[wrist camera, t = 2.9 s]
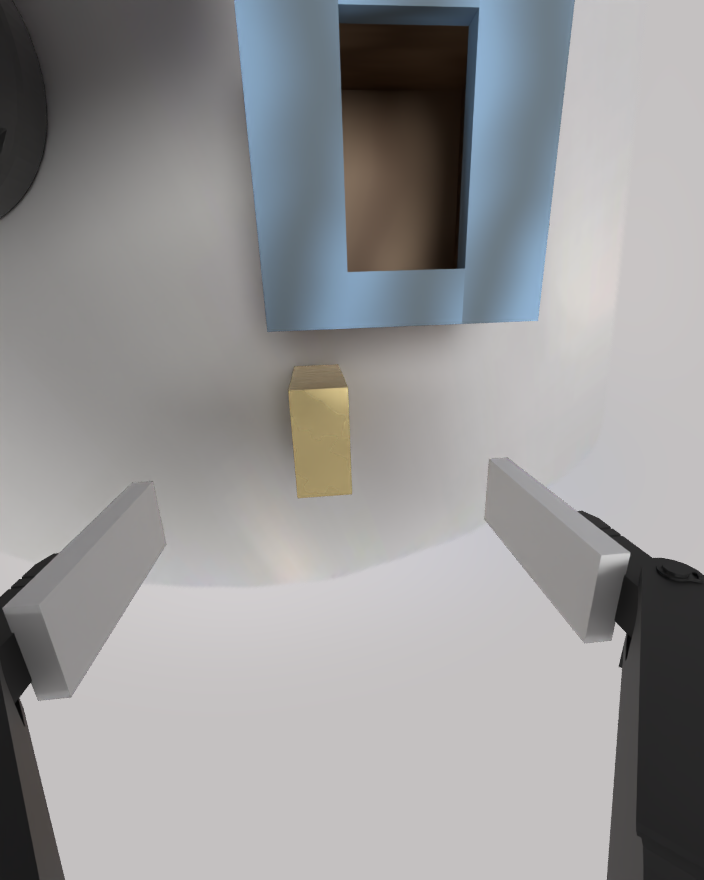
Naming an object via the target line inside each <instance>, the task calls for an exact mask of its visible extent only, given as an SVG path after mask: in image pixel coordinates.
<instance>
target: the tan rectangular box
mask: <svg viewBox="0 0 704 880" xmlns="http://www.w3.org/2000/svg"><path fill="white" fill-rule="evenodd" d="M288 394H289V405H290V417H291V428H292V440H293V451H294V462H295V474H296V485H297V497H298V498H308V497H321V496H334V495H348V494H352V481H351V454H350V427H349V401H348V386H347V384H346V382H345V379H344V377H343V375H342V372H341V370H340V368H339V365H338V364H335V365H314V366H295V367H294V370H293V374H292V378H291V382H290V386H289V389H288Z"/></svg>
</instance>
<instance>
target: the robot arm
mask: <svg viewBox="0 0 704 880" xmlns="http://www.w3.org/2000/svg"><path fill="white" fill-rule="evenodd" d="M46 126H47V110H46V97H45V90H44V84H43V79H42V74H41V70H40V66H39V62H38V59H37V56H36V53H35V50H34V46H33V44H32V41H31V39H30V36H29V34H28V31H27V29H26V27H25V25H24V22H23V20H22V18H21V16H20V14H19V12H18V10H17V8H16V6H15V5H14V3H13V1H12V0H0V217H2V216H3V215H5V214H6V213H7V212H8V211H10V210H11V209H12V208H13V207H14V206H15V205H16V204H17V203H18V202H19V201H20V199H21V198H22V197H23V196H24V194H25V193H26V191H27V190H28V188H29V187H30V185H31V183H32V181H33V179H34V177H35V175H36V173H37V170H38V168H39V165H40V161H41V158H42V154H43V150H44V145H45V138H46ZM484 519H485V521H486V522H487V523H488V524H489V526H490V527H491V528H492V529H493V531H494V532H495V533H496V534H497V536H498V537H499V538H500V539H501V540H502V541H503V543H504V544H505V546H506V547H507V548H508V549H509V551H510V552H511V553H512V554H513V555H514V557H515V558H516V559H517V560H518V561H519V563H520V564H521V565H522V567H523V568H524V569H525V570H526V571H527V573H528V574H529V575H530V577H531V578H532V579H533V580H534V582H535V583H536V584H537V585H538V586H539V588H540V589H541V590H542V591H543V593H544V594H545V595H546V596H547V598H548V599H549V600H550V601H551V603H552V604H553V605H554V606H555V608H556V609H557V610H558V611H559V613H560V614H561V615H562V616H563V617H564V619H565V620H566V621H567V622H568V624H569V625H570V626H571V627H572V629H573V630H574V631H575V632H576V634H577V635H578V636H579V637H580V639H581V640H582V641H583V642H584V643H593V642H602V641H611V640H612V635H613V631H614V626H615V622H616V623H617V624H618V625H619V626H620V627H621V628H622V629H623V630H624V631H625V632H626V638H625V642H624V646H623V651H622V655H621V659H620V664H619V667H621V668H622V678H621V692H620V707H619V720H618V733H617V747H616V762H615V776H614V789H613V803H612V817H611V830H610V845H609V858H608V859H609V860H608V872H607V880H704V575H702V573H700V572H699V571H698V570H696V569H694V568H692V567H690V566H688V565H686V564H684V563H681V562H677V561H675V560H670V559H665V558H652V557H650V556H649V555H648V554H646V553H645V552H643V551H642V550H641V549H640V548H638V547H637V546H636V545H634V544H633V543H631V542H630V541H629V540H627V539H626V538H625V537H623V536H621V535H620V534H619V533H618V532H616V531H615V530H614V529H611V527H610V526H608V525H607V524H606V523H604V522H603V521H602V520H600V519H599V518H597V517H595V516H593V515H590V514H588V513H586V512H583V511H576V510H574V509H573V508H572V507H571V506H569V505H568V504H567V503H565V502H564V501H563V500H562V499H560V498H559V497H558V496H556V495H555V494H554V493H553V492H551V491H550V490H549V489H547V488H546V487H545V486H544V485H542V484H541V483H540V482H538V481H537V480H536V479H535V478H533V477H532V476H531V475H529V474H528V473H527V472H525V471H524V470H523V469H522V468H520V467H519V466H518V465H516V464H515V463H514V462H513V461H511V460H510V459H509V458H492V459H489V466H488V478H487V491H486V503H485V516H484ZM165 546H166V540H165V535H164V530H163V526H162V521H161V516H160V511H159V507H158V502H157V497H156V493H155V488H154V483H153V481H151V482H136V483H131V484H130V485H129V486H128V487H127V488H126V489H125V490H124V491H123V492H122V493H121V494H120V495H119V496H118V497H117V498H116V499H115V500H114V501H113V502H112V503H111V504H110V505H109V506H108V507H107V508H105V509H104V510H103V511H102V512H101V513H100V514H99V515H98V516H97V517H96V518H95V519H94V520H93V521H92V522H91V523H90V524H89V525H88V526H87V527H86V528H85V529H84V530H83V531H82V532H81V533H80V534H79V535H77V536H76V537H75V538H74V539H73V540H72V541H71V542H70V543H69V544H68V545H67V546H66V547H65V548H64V549H63V550H62V551H61V552H60V553H57V554H52V555H51V556H49V557H47V558H46V559H44V560H42V561H41V562H39V563H37V564H35V565H34V566H33V567H32V568H31V569H30V570H29V571H28V572H27V573H26V574H25V575H23V577H22V579H19V580H18V581H17V582H16V583H15V584H14V585H13V586H12V587H11V589H9V590H7V591H6V592H5V593H4V594H3V595H2V596H1V597H0V880H65V878H64V874H63V870H62V865H61V861H60V857H59V853H58V849H57V845H56V841H55V837H54V832H53V828H52V824H51V820H50V816H49V812H48V808H47V804H46V799H45V795H44V791H43V787H42V783H41V779H40V775H39V770H38V766H37V762H36V758H35V754H34V750H33V746H32V742H31V738H30V733H29V729H28V725H27V721H26V717H25V713H24V709H23V706H22V704H21V701H20V699H19V697H20V696H21V695H22V693H23V692H24V690H25V689H26V688H27V687H28V685H29V684H30V683H31V684H32V686H33V689H34V692H35V694H36V697H37V700H38V701H41V700H50V699H60V698H70V697H72V695H73V694H74V692H75V690H76V689H77V687H78V685H79V684H80V682H81V681H82V679H83V678H84V676H85V674H86V673H87V671H88V669H89V668H90V666H91V665H92V663H93V661H94V660H95V658H96V657H97V655H98V653H99V652H100V650H101V649H102V647H103V645H104V643H105V642H106V641H107V639H108V637H109V636H110V634H111V633H112V631H113V629H114V628H115V626H116V624H117V623H118V621H119V620H120V618H121V616H122V615H123V613H124V612H125V610H126V608H127V607H128V605H129V603H130V602H131V600H132V599H133V597H134V595H135V594H136V592H137V591H138V589H139V588H140V586H141V584H142V583H143V581H144V580H145V578H146V576H147V575H148V573H149V571H150V570H151V568H152V567H153V565H154V563H155V562H156V560H157V559H158V557H159V555H160V554H161V552H162V551H163V549H164V547H165Z"/></svg>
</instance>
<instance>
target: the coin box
mask: <svg viewBox="0 0 704 880" xmlns="http://www.w3.org/2000/svg"><path fill="white" fill-rule="evenodd" d="M574 2H575V0H234V3H235V13H236V23H237V33H238V43H239V53H240V63H241V73H242V83H243V93H244V103H245V113H246V123H247V133H248V143H249V153H250V163H251V173H252V183H253V193H254V203H255V213H256V223H257V233H258V243H259V253H260V263H261V273H262V283H263V293H264V303H265V313H266V323H267V332H275V331H300V330H324V329H348V328H373V327H397V326H421V325H446V324H470V323H494V322H519V321H538V315H539V307H540V298H541V289H542V280H543V272H544V263H545V254H546V246H547V237H548V228H549V220H550V211H551V202H552V194H553V185H554V176H555V167H556V159H557V150H558V141H559V133H560V124H561V115H562V107H563V98H564V89H565V80H566V72H567V63H568V54H569V46H570V37H571V28H572V20H573V11H574Z"/></svg>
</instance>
